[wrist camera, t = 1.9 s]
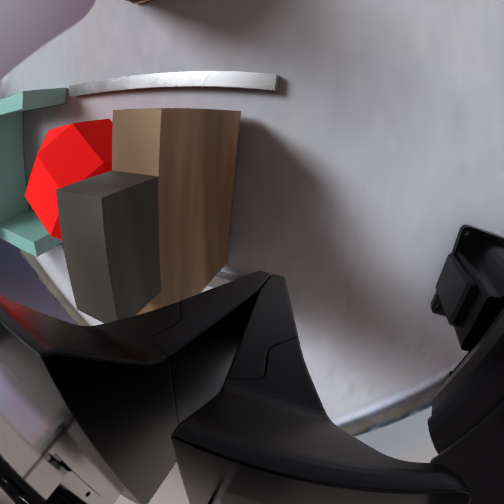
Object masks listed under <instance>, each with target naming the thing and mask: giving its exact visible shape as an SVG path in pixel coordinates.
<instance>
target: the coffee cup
mask: <svg viewBox="0 0 504 504" xmlns="http://www.w3.org/2000/svg"><path fill="white" fill-rule="evenodd" d="M126 1H130V2H133V3H134V4H141V3H144V2H146V1H149V0H126Z"/></svg>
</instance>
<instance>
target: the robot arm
mask: <svg viewBox="0 0 504 504" xmlns="http://www.w3.org/2000/svg"><path fill="white" fill-rule="evenodd" d="M467 230H469V234H468V235H467V236H464V233H465V231H467ZM436 290H437V291H436V293H435V295H434V298H433V300H432V302H431V305H430V306H431V310H432V312H433V313H435V314H440V315H444V316H446V317H447V320H448V322H449V325H451V326H454V329H455V331H456V334H457V337H458V340H459V344H460V347H461V349H462V350H466V351H469V352H468V354H467V355H466V356H465V357H464V358H463V360H462V361H461V362H460V363H459V364H458V366H457V367H456V368H455V369H454V370H453V371H450V372H449V374H448V375H447V376H446V377H445V379H444V383H443V384H442V385H441V386H440V388H439V389H438V391H437V393H436V395H435V396H434V398H433V406H432V416H431V417H429V419H428V427H429V432H430V437H431V440H432V442H433V445H434V448H435V450H436V451H437V453H438V455H437V456H436V457H434V458H433V459H432V460H431V463H416V462H407V461H402V460H398V459H395V458H392V457H389V456H387V455H384V454H382V453H380V452H378V451H377V450H375V449H373V448H372V447H370V446H368V445H367V444H365V443H363V442H361V441H360V440H358V439H357V438H355V437H353V436H352V435H350V434H349V433H347V432H345V431H344V430H342V429H341V428H339V427H338V426H336V425H335V424H334V423H333V422H332V421H331V420H330V419H329V417H328V416H327V414H326V412H325V410H324V408H323V406H322V403H321V401H320V398H319V396H318V394H317V391H316V389H315V386H314V384H313V382H312V379H311V377H310V374H309V372H308V369H307V366H306V364H305V361H304V358H303V354H302V350H301V347H300V342H299V339H298V333H297V329H296V324H295V320H294V315H293V311H292V307H291V302H290V298H289V293H288V289H287V285H286V280H285V278H284V277H283V276H279V275H275V274H273V275H271V274H270V273H267V272H263V271H256V272H254V273H251V274H249V275H246V276H244V277H241V278H238V279H236V280H233V281H231V282H228V283H226V284H223V285H220V286H218V287H215V288H213V289H210V290H207V291H205V292H202V293H199V294H197V295H194V296H192V297H189V298H186V299H184V300H181V301H179V302H175V303H173V304H170V305H167V306H165V307H162V308H159V309H156V310H153V311H149V312H146V313H143V314H139V315H135V316H132V317H128V318H124V319H120V320H116V321H113V322H109V323H105V324H101V325H96V326H79V325H74V324H71V323H68V322H65V321H62V320H60V319H57V318H54V317H51V316H48V315H46V314H43V313H41V312H38V311H35V310H33V309H30V308H28V307H25V306H23V305H20V304H18V303H16V302H14V301H12V300H10V299H8V298H6V297H4V296H2V295H0V504H27V503H26V502H28V503H29V504H114V503H115V502H116V500H117V499H118V497H119V496H120V494H121V495H123V496H124V497H126V498H128V499H130V500H131V501H133V502H135V503H137V504H148V503H149V501H150V500H151V498H152V497H153V496H154V494H155V493H156V491H157V490H158V488H159V487H160V485H161V484H162V483H163V481H164V479H165V478H166V477H167V475H168V474H169V472H170V471H171V469H172V468H173V466H174V465H175V463H176V462H177V463H178V467H179V470H180V474H181V477H182V480H183V484H184V487H185V490H186V493H187V496H188V499H189V503H190V504H504V237H502V236H499V235H496V234H493V233H490V232H488V231H485V230H482V229H479V228H476V227H473V226H470V225H463V226H462V227H461V228H460V230H459V233H458V236H457V239H456V242H455V245H454V248H453V250H452V252H451V253H450V254H449V255H448V257H447V259H446V262H445V265H444V267H443V270H442V272H441V275H440V277H439V280H438V282H437V285H436ZM436 305H440V306H439V307H435V306H436ZM22 498H23V499H25V501H26V502H25V501H23V500H22Z"/></svg>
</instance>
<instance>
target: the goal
mask: <svg viewBox="0 0 504 504" xmlns="http://www.w3.org/2000/svg"><path fill="white" fill-rule="evenodd" d="M66 89H67V88H56V89H43V90H32V91H23V92H20V93H17V94H14V95H12V96H9V97H6V98H4V99H1V100H0V238H2V239H3V240H5V241H7V242H9V243H11V244H13V245H15V246H17V247H19V248H20V249H22V250H24V251H26V252H28V253H30V254H32V255H34V256H36V257H38V256H39V255H41V254H43V253H45V252H46V251H48V250H50V249H52V248H53V247H55V246H57V245H59V244H61V243H62V242H63V241H61V240H59V239H57V238H54V237H52V236H50V234H49V233H48V231H47V230H46V229H45V227H44V226H43V224H42V223H41V221H40V220H39V218H38V217H37V215H36V213H35V212H32V211H29V206H28V201H27V199H26V197H25V193H26V181H25V169H24V153H23V112H24V111H28V110H33V109H37V108H42V107H47V106H53V105H58V104H64V103H66Z"/></svg>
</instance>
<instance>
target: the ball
mask: <svg viewBox="0 0 504 504" xmlns="http://www.w3.org/2000/svg"><path fill="white" fill-rule="evenodd" d="M112 127H113V123H112V121H111V120H110V119H103V120H95V121H87V122H80V123H73V124H69V125H65V126H61V127H58V128H54V129H51V130H49V131H48V133H47V135H46V137H45V139H44V141H43V143H42V145H41V147H40V149H39V152H38V154H37V156H36V159H35V162H34V166H33V169H32V172H31V175H30V179H29V182H28V186H27V189H26V193H25V197H26V199H27V201H28V202H29V204H30V206H31V207H32V209H33V210H34V212H35V213H36V215H37V217H38V218H39V220H40V221H41V223H42V224H43V226H44V227H45V229H46V230H47V231H48V233H49V234H50V236H52V237H54V238H57V239H59V240H61V241H62V235H61V228H60V221H59V213H58V205H57V196H56V189H59V188H62V187H64V186H67V185H70V184H73V183H76V182H78V181H81V180H84V179H87V178H90V177H93V176H96V175H100V174H103V173H106V172H109V171H112Z"/></svg>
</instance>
